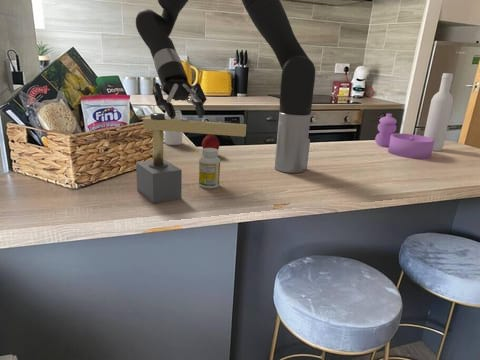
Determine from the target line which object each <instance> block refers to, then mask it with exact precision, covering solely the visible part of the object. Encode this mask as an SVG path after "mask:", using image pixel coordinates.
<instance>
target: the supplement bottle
mask: <svg viewBox="0 0 480 360" xmlns="http://www.w3.org/2000/svg"><path fill="white" fill-rule="evenodd" d="M201 152H202V153H201V154H202V156H201V157H200V158H199V159H198V160H199V161H198V162H199V163H198V164H199V166H198V169H199V170H198V185H199V187H201V188H203V189H215V188H218V187H219V186H220V178H221V177H220V176H221V175H220V173H221V159H220V158H219V157H218V155H219V149H215V148H204V149H203V148H202V151H201Z"/></svg>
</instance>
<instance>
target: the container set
mask: <svg viewBox="0 0 480 360" xmlns="http://www.w3.org/2000/svg"><path fill="white" fill-rule="evenodd" d="M378 121H379V123H378V125H377V131H378V132H379V133H377V134H376V136H375V138H374V139H375V140H374V141H375V143H376V145H377V146H379V147H383V148H384V147H386V148H387V152H388V153H389V154H392V155H394V156H397V157H401V158H407V159H413V160H414V159H415V160H427V159H431V157H432V153H433V151H432V149H433V145H434V139H432V138H429V137H425V136H424V135H419V134H413V133H412V134H411V133H401V132H400V133H399V132H397V133H395V132H396V130H397V126H396V124H397V122H398V121H397V119H396V118H394V117H393V113H386V115H385V116H382V117H381V118H380V119H379V120H378Z"/></svg>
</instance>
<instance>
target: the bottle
mask: <svg viewBox="0 0 480 360" xmlns="http://www.w3.org/2000/svg"><path fill="white" fill-rule="evenodd" d="M453 79H454V74H453V73H446V72H443V73H442V76H441V81H440V86H439V89H438V91H437V92H436V93H435V94H434V95H433V96H432V98H431V101H430V105H429V110H428V113H427V120H426V124H425V128H424V133H423V134H424V135H423V136H425V137H429V138H432V139H434V145H433V149H432V152H442V151H443V147H444V144H445V139H446V134H447V130H448V125H449V122H450V117H451V113H452V109H453V105H454V104H453V103H454V99H453V95H452V94H451V93H450V90H451V86H452V82H453Z"/></svg>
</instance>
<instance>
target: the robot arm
mask: <svg viewBox="0 0 480 360" xmlns="http://www.w3.org/2000/svg"><path fill="white" fill-rule="evenodd" d="M157 2H158V4H159V6H160V7H161V8H162V13H161V14H158V13H157V12H155V11H154V10H152V9H149V8H142V9H141V10H139V12H138V13H137V14H136V18H135V27H136V30H137V32H138V34H139V36H140V38H141V39H142V41H143V42H144V43H145V45H146V47H147V48H148V50H149V51H150V52H149V53H150V54H151V57H152V60H153V62H154V68H155V71H156V74H157V76H158V78H159V81H160V83H158V82H155V83H154V86H153V87H152V93H153V97H154V99H155V103H156V106H157V107H163V108H164V109H165V113H166V112H167V114H168V116H169V117H170V118H171V119H174V118H175V116H176V113H175V110H176V109H175V107H174V105H173V103H171V102H172V101H182V102H183V101H186V102H187V103H188V104H191V105H193V106H194V109H195V111H196V114H197V117H198V118H199V119H201V118H203V117H204V115H205V113H206V112H205V108H204V104H205V103H206V101H207V97H206V94H205V92H204V90H203V88H202V85H200V83H196V84H195V85H191V83H189V81H188V80H189V79H188V75H187V73H186V71H185V67H184V65H183V63H182V60H181V58H180V56H179V54H178V52H177V50H176V48H175V45H174V43H173V40H172V39H171V37H170V36H171V33H172V31H173V29H174V26H175V24H176V21H177V19H178V17H179V14H180V13H181V11H182V10H183V8H184V7H185V6H186V4H187V3H188V2H189V0H157ZM241 3H242V4H243V7H244V9H245V11H246V13H248V16H249V18H250V20H251V21H252V23H253V25H254V26H255V28H256V29H257V31H258V32H259V33H260V35H261V36H262V37H263V39H264V41H266V43H267V44H268V45H269V47H270V48H271V49H272V51H273V53H274V54H275V56H276V59H277V61H278V64H279V66H280V68H281V78H280V80H281V81H280V92H279V113H278V125H277V137H276V148H275V158H274V160H275V161H274V169H275V170H277V171H279V172H282V173H288V174H291V173H292V174H297V173H303V172H305V170H308V164H309V163H308V161H309V154H310V144H311V139H310V138H309V133H310V124H311V116H312V115H311V113H312V107H313V98H314V89H315V80H316V66H315V64H314V63H313V61H312V60H311V58H309V56H308V55H307V53H306V51H305V50H304V49H303V48H302V46H301V44H300V43H299V41H298V39H297V38H296V36H295V33H294V31H293V28H292V26H291V22H290V20H289V17H288V15H287V13H286V11H285V8H284V6H283V4H282V1H281V0H241ZM163 92H164V93H165V95H167V98H166V99H164V95H163ZM189 96H190V97H189Z"/></svg>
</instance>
